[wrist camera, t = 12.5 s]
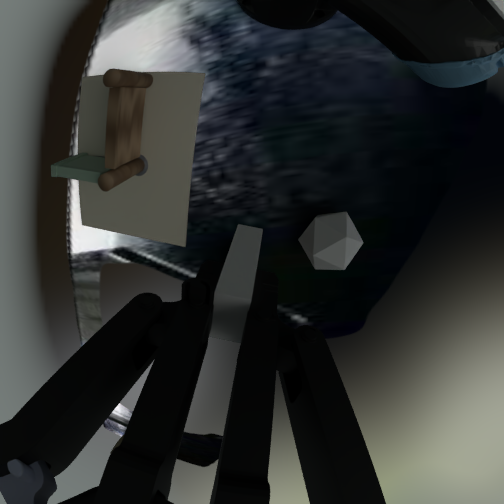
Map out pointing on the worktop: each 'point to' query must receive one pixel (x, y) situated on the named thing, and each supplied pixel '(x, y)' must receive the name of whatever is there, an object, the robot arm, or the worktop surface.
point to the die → (331, 241)
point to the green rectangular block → (80, 168)
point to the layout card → (145, 159)
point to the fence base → (123, 125)
